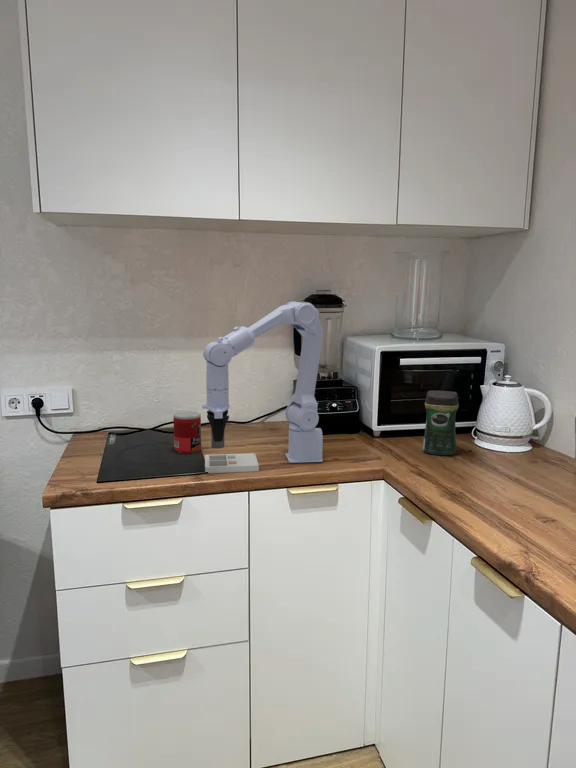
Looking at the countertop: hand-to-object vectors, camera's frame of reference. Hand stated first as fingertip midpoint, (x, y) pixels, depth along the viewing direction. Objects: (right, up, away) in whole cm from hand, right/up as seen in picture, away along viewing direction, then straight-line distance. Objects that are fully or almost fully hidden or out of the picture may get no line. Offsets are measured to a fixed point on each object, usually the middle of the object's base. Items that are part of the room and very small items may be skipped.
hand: (218, 439), depth 151 cm
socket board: (+3, -8, +4) cm, 9 cm away
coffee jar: (+64, -6, +19) cm, 67 cm away
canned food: (-11, -5, +18) cm, 22 cm away
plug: (0, -2, 0) cm, 2 cm away
